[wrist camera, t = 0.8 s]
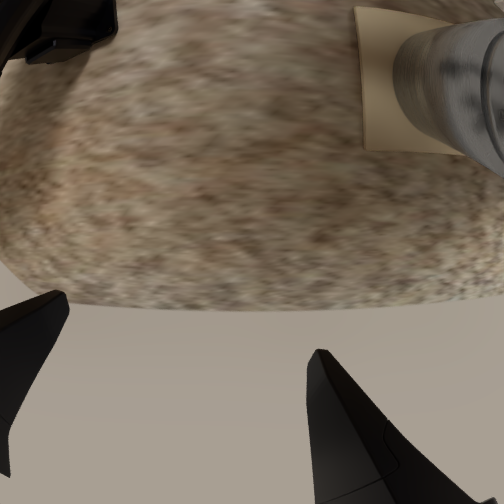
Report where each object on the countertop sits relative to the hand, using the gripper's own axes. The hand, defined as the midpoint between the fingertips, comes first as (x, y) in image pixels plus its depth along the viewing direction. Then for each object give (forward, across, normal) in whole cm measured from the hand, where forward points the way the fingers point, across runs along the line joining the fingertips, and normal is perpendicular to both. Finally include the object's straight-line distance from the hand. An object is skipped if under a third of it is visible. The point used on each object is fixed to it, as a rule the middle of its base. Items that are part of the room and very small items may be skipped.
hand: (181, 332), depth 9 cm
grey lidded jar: (+12, +12, +11) cm, 20 cm away
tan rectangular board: (+12, +13, +12) cm, 22 cm away
